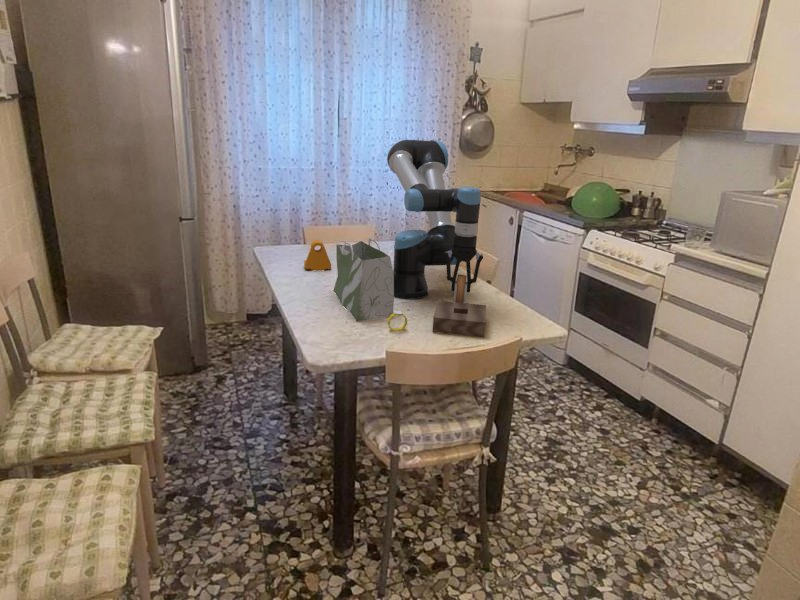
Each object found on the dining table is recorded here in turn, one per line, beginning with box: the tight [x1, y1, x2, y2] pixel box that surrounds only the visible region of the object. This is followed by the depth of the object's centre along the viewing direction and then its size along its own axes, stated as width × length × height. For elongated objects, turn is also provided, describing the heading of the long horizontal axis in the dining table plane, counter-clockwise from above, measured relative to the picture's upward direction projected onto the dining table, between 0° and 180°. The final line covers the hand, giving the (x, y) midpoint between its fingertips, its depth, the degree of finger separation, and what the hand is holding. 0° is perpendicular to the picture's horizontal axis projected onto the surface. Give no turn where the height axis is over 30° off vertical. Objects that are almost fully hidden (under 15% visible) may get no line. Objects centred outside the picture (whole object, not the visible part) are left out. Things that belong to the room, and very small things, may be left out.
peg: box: [454, 274, 467, 303], centre depth 183 cm, size 3×3×12 cm
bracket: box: [303, 239, 332, 271], centre depth 223 cm, size 11×7×12 cm, turn 104°
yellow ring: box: [387, 310, 408, 332], centre depth 164 cm, size 6×3×6 cm, turn 105°
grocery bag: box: [333, 237, 395, 323], centre depth 182 cm, size 32×14×23 cm, turn 22°
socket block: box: [431, 300, 487, 338], centre depth 169 cm, size 16×16×5 cm
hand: (459, 300), depth 184 cm, fingers closed on peg, 3 cm apart
